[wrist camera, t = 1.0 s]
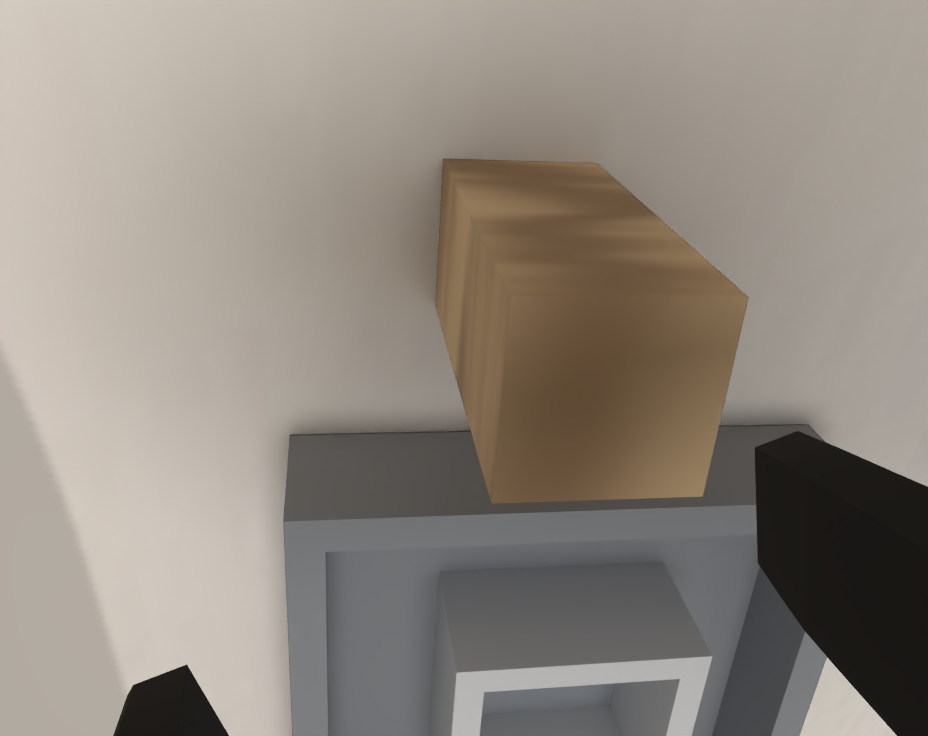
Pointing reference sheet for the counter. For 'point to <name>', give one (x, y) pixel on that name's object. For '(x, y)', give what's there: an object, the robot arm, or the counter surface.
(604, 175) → the peg
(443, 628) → the socket box
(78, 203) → the counter surface
